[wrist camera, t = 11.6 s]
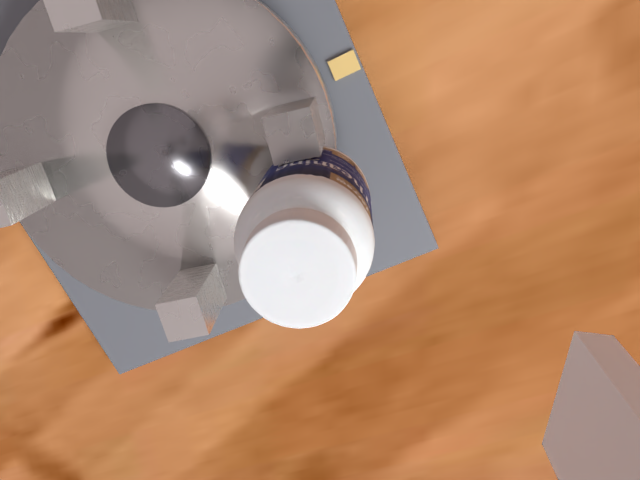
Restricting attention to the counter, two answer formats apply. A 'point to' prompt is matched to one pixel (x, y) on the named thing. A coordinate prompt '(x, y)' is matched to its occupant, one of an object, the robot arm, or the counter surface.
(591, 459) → the robot arm
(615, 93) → the counter surface
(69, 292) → the grey square plate
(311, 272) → the pill bottle
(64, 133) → the grey shallow round piece
